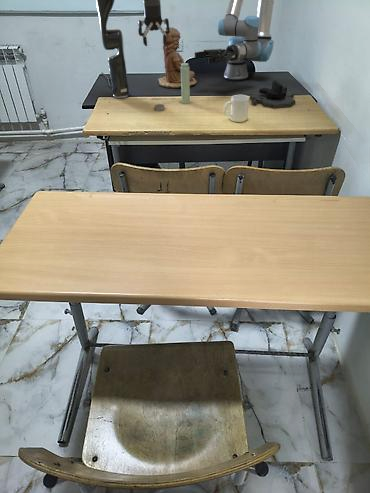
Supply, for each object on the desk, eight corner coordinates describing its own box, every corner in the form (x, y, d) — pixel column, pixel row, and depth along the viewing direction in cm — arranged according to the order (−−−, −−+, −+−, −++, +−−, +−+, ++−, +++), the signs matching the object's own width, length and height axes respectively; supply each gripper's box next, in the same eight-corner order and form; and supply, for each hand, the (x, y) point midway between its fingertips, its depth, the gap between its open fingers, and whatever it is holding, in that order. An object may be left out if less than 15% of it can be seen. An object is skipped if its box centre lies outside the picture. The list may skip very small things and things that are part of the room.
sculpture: (197, 88, 213) (196, 30, 194) (156, 89, 214) (152, 31, 194) (196, 75, 234) (196, 22, 215) (159, 76, 235) (156, 23, 215)
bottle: (180, 101, 196) (179, 63, 184) (187, 100, 198) (186, 62, 186) (183, 104, 193) (182, 65, 181) (191, 102, 195) (190, 64, 182)
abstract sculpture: (259, 90, 177) (247, 79, 193) (257, 109, 183) (245, 97, 198) (307, 86, 180) (291, 76, 195) (303, 105, 186) (288, 93, 201)
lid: (160, 111, 186) (160, 107, 184) (152, 109, 188) (152, 106, 186) (166, 108, 189) (166, 105, 188) (158, 107, 191) (158, 103, 190)
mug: (224, 123, 170) (225, 101, 163) (221, 117, 176) (221, 95, 170) (249, 121, 171) (251, 99, 165) (244, 115, 177) (246, 93, 171)
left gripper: (137, 6, 154) (141, 48, 165) (169, 3, 157) (171, 45, 167) (134, 4, 160) (138, 44, 170) (165, 2, 163) (167, 42, 173)
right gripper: (248, 64, 187) (214, 71, 180) (222, 55, 204) (189, 61, 197) (249, 48, 182) (214, 54, 175) (222, 40, 199) (189, 45, 192)
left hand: (155, 45), depth 169 cm, fingers open, 8 cm apart
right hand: (201, 58), depth 186 cm, fingers open, 13 cm apart
